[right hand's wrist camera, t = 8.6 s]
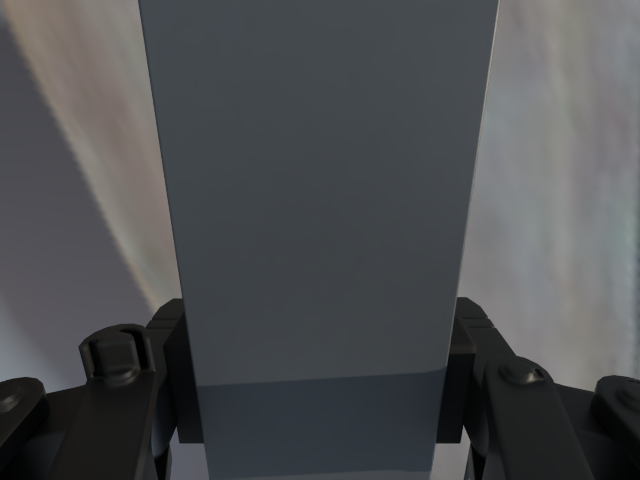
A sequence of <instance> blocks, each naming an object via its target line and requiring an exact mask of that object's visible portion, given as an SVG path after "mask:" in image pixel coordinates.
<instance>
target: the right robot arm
mask: <svg viewBox="0 0 640 480" xmlns="http://www.w3.org/2000/svg"><path fill="white" fill-rule="evenodd" d="M79 351H80V354H81V358H82V362H83V366H84V369H85V373H86V377H87V382H86V384H85V385H83V386H79V387H75V388H71V389H66V390H61V391H57V392H52V393H47V394H46V392H45V389H44V386H43V383H42V382H41V381H39V380H38V379H36V378H30V377H22V378H14V379H10V380H6V381H4V382H0V480H170V474H171V465H172V455H171V449H170V443H169V442H170V440H171V438H172V435H173V433H174V431H175V428H176V426H177V431H178V437H179V443H204V439H203V433H202V426H201V419H200V413H199V406H198V399H197V392H196V386H195V379H194V372H193V366H192V359H191V352H190V345H189V339H188V332H187V325H186V319H185V312H184V305H183V299H172V300H170V301H169V302H167V303H166V304H164V305H163V306H161V307H160V308H159V309H158V311H157V312H156V313H155V315H154V316H153V318H152V320H151V321H150V322H149V323H148V325H147V326H146V328H145V327H144V326H141V325H137V324H119V325H115V326H110V327H107V328H104V329H102V330H99V331H97V332H95V333H93V334H92V335H90V336H89V337H87V338H86V339H84V341H83V342H82V343H81V344H80V345H79ZM463 425H464V427H465V429H466V432H467V434H468V436H469V439H470V441H471V443H470V449H469V454H468V459H467V465H466V470H465V476H464V480H469V479H470V480H640V380H636V379H634V378H630V377H624V376H616V375H612V376H605V377H603V378H601V379H600V380H599V381H598V382H597V385H596V388H595V391H594V392H591V391H587V390H582V389H577V388H573V387H568V386H563V385H560V384H556V383H554V381H553V379H552V378H551V376H550V375H549V373H548V372H547V371H546V370H545V369H543V368H542V367H541V366H539V365H538V364H537V363H535V362H532V361H530V360H528V359H526V358H523V357H519V356H516V355H515V353H514V352H513V351H512V349H511V348H510V346H509V345H508V344H507V342H506V341H505V340H504V338H503V337H502V335H501V334H500V333H499V331H498V330H497V329H496V328H494V325H493V323H492V322H491V320H490V319H488V316H487V315H486V314H485V312H484V311H483V309H482V308H481V307H480V306H479V305H477V304H476V303H474V302H473V301H471V300H470V299H468V298H467V297H457V301H456V308H455V315H454V321H453V328H452V335H451V342H450V349H449V356H448V362H447V369H446V376H445V383H444V390H443V397H442V403H441V410H440V417H439V424H438V431H437V438H436V443H460V441H461V436H462V430H463Z"/></svg>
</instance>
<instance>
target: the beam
mask: <svg viewBox="0 0 640 480" xmlns="http://www.w3.org/2000/svg"><path fill="white" fill-rule="evenodd" d="M138 3H139V10H140V16H141V23H142V30H143V37H144V43H145V50H146V57H147V63H148V70H149V77H150V84H151V90H152V97H153V104H154V110H155V117H156V124H157V131H158V137H159V144H160V151H161V157H162V164H163V171H164V178H165V184H166V191H167V198H168V204H169V211H170V218H171V225H172V231H173V238H174V245H175V251H176V258H177V265H178V272H179V278H180V285H181V292H182V298H183V305H184V312H185V319H186V325H187V332H188V339H189V345H190V352H191V359H192V366H193V372H194V379H195V386H196V392H197V399H198V406H199V413H200V419H201V426H202V433H203V439H204V446H205V453H206V459H207V466H208V473H209V480H430V479H431V472H432V465H433V458H434V451H435V444H436V438H437V431H438V424H439V417H440V410H441V403H442V397H443V390H444V383H445V376H446V369H447V362H448V356H449V349H450V342H451V335H452V328H453V321H454V315H455V308H456V301H457V294H458V287H459V281H460V274H461V267H462V260H463V253H464V246H465V240H466V233H467V226H468V219H469V212H470V205H471V199H472V192H473V185H474V178H475V171H476V164H477V158H478V151H479V144H480V137H481V130H482V123H483V117H484V110H485V103H486V96H487V89H488V82H489V76H490V69H491V62H492V55H493V48H494V41H495V35H496V28H497V21H498V14H499V7H500V0H138Z"/></svg>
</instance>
